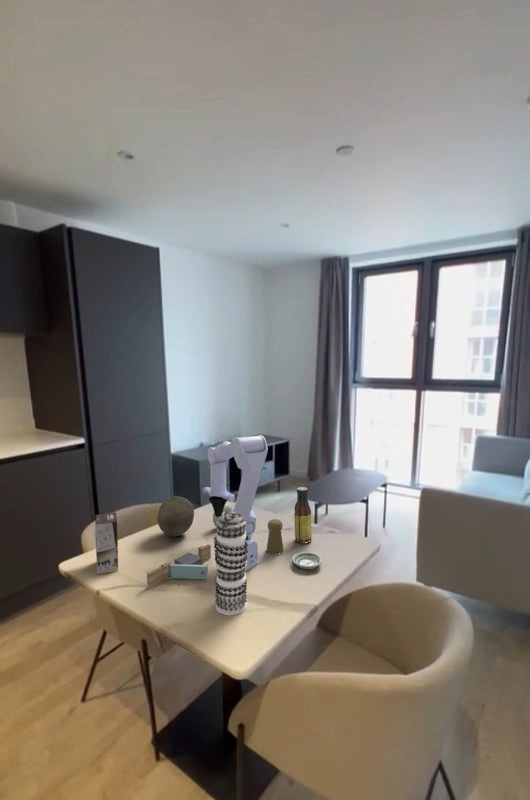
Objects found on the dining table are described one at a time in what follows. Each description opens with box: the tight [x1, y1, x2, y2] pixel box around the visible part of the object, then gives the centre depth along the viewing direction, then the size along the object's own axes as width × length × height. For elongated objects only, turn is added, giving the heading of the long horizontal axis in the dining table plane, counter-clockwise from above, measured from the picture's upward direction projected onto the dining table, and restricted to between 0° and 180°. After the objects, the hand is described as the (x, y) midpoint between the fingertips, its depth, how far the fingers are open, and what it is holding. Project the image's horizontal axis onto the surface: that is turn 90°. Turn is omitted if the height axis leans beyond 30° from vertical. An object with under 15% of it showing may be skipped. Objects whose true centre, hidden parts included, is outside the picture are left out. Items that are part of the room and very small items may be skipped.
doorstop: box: [173, 552, 203, 565], centre depth 122 cm, size 6×6×4 cm
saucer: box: [291, 551, 323, 570], centre depth 126 cm, size 10×10×2 cm
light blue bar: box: [167, 563, 209, 580], centre depth 117 cm, size 2×12×4 cm, turn 87°
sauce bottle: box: [293, 486, 313, 544], centre depth 143 cm, size 7×6×20 cm
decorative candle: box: [213, 512, 249, 616], centre depth 103 cm, size 9×9×25 cm
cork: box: [266, 518, 284, 555], centre depth 135 cm, size 6×6×11 cm
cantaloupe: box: [156, 496, 195, 537], centre depth 146 cm, size 14×14×15 cm
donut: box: [212, 502, 234, 528], centre depth 154 cm, size 10×4×10 cm, turn 141°
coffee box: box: [94, 511, 119, 575], centre depth 124 cm, size 9×6×16 cm
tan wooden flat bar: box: [146, 543, 212, 590], centre depth 121 cm, size 2×24×5 cm, turn 141°
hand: (218, 515), depth 141 cm, fingers closed
